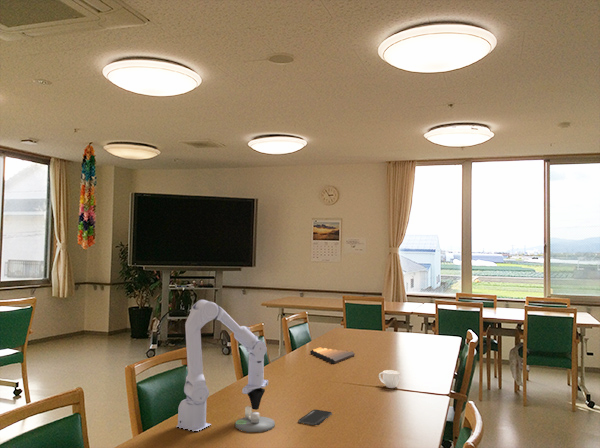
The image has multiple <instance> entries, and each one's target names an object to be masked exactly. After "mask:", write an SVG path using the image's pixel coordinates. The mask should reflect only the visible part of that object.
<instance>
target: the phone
mask: <svg viewBox="0 0 600 448" xmlns="http://www.w3.org/2000/svg"><path fill="white" fill-rule="evenodd" d="M330 415H331V416H332V415H333V412H332V411H329V410H327V411H326V410H321V409H313V410H311V411H310V412H308V413H307V414H305V415H304V416H302V417H300V418H299V419H298V422H299V424H301V423H304V424H303V425H306V424H309V425H308V426H312V425H318V426H320V425H321V424H322V423H323V422H325V421H326V420H327V419H329V418H330V417H331V416H330ZM329 416H330V417H329ZM328 417H329V418H328ZM326 418H327V419H326ZM325 419H326V420H325ZM324 420H325V421H324ZM320 423H321V424H320Z"/></svg>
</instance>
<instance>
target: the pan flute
mask: <svg viewBox="0 0 600 448" xmlns="http://www.w3.org/2000/svg"><path fill="white" fill-rule="evenodd" d="M355 354H356V353H355V352H354V351H348V350H345V351H343V349H340V350H338V349H333V348H327V347H324V348H323V347H317V348H314V349H311V350H310V355H313V357H314V356H315V357H316V358H319V359H320V360H323V361H326V363H329V364H332V365H336V364H338V363H340V362H343V361H346V360H349V359H351V358H354V357H355Z"/></svg>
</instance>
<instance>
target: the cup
mask: <svg viewBox="0 0 600 448" xmlns="http://www.w3.org/2000/svg"><path fill="white" fill-rule="evenodd" d="M400 375H401V373H400V371H399V370H393V369H386V370H383V371H382V372H379V374H378V379H379V380H380V382H381V383H382V384H384V385H385V387H386V388H389V389H394V388H396V387H397V386H398V384H399V382H400Z"/></svg>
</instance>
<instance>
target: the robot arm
mask: <svg viewBox="0 0 600 448" xmlns="http://www.w3.org/2000/svg"><path fill="white" fill-rule="evenodd" d="M212 320H217V321H220V322H221V323H222V324H223V325H224V326H226V327H227V328H228V329H229V330H230V331H232V333H233V338H234V340H235V341H237V342H238V343H239V344H240V345H242V346H243V347H244V348H245V350H246V352H248V369H247V370H248V373H247V374H248V375H247V376H248V380H247V384H246V385H245V386H243V387H242V394H244V395H247V396H248V397H249V401H250V405H251V407H252V410H256V411H257V410H259V407H260V404H261V401H262V399H263V396H264V393H265V391H266V390H265V389H266V387H267V386H269V379H264V378H265V377H264V375H265V374H264V371H265V370H264V369H265V368H264V367H265V364H264V363H265V355H266V353H267V351H268V348H267V346H266V343H265V342H264V341H262V340H261V339H259V336H258V335H255V334H254V333H253V332H252V330H251V328H250V327H249V326H246V325H241V326H240V324H238V323H237V322H236V321H235V320H234V319H233V317H232V316H230V315H229V313H228V312H226V310H225V309H224V308H222V307H221V306H219V305H218V304H217V303H215V302H213V301H209V300H207V299H198V301H196V302H195V303H194V304H193V305H192V306H191V310H190V312H189V315H188V317H187V319H186V321H185V322H184V323H185V324H184V327H185V344H186V347H185V348H186V363H187V375H186V377H185V383H184V387H183V392H184V395H185V396H186V397H185V399H183V400H181V401H180V403H179V405H178V409H177V411H178V413H177V425H175V428H177V427H179V428H178V429H181V428H183V429H182V430H185V429H188V430H187V431H190V430H192V431H191V432H194V431H198V432H200V431H202V429H203V430H205V429H206V427H207V428H208V426H209V427H211V426H212V424H211V423H208V422H207V400H208V398H209V396H210V391H209V387H208V386H207V384H206V383H207V382H206V378H205V375H204V370H203V369H204V368H203V367H204V365H203V351H202V335H201V334H202V333H201V332H202V331H201V329H202V328H203V327H204V326H205V325H206V324H207V323H209V322H211V321H212ZM210 425H211V426H210ZM204 428H205V429H204ZM199 430H200V431H199Z"/></svg>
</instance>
